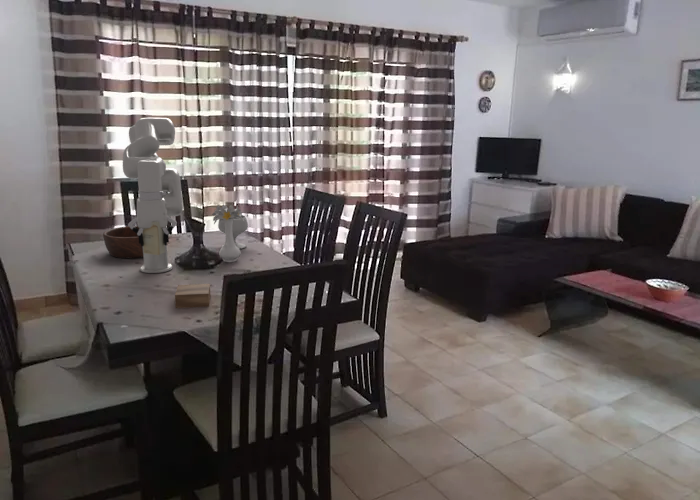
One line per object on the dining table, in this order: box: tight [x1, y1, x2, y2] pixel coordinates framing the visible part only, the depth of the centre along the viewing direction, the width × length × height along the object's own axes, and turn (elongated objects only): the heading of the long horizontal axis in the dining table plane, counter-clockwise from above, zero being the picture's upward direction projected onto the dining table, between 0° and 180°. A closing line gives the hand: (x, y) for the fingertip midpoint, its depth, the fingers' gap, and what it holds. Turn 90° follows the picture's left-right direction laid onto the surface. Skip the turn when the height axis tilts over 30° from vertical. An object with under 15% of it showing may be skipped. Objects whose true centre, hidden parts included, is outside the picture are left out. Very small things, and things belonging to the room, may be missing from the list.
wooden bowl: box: [102, 225, 143, 259], centre depth 253 cm, size 25×25×10 cm
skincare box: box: [143, 221, 165, 255], centre depth 196 cm, size 6×4×12 cm
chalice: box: [217, 214, 249, 250], centre depth 267 cm, size 14×14×15 cm
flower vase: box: [211, 204, 244, 263], centre depth 243 cm, size 13×18×25 cm
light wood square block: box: [174, 283, 212, 309], centre depth 193 cm, size 11×11×5 cm
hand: (154, 244), depth 197 cm, fingers closed on skincare box, 7 cm apart
